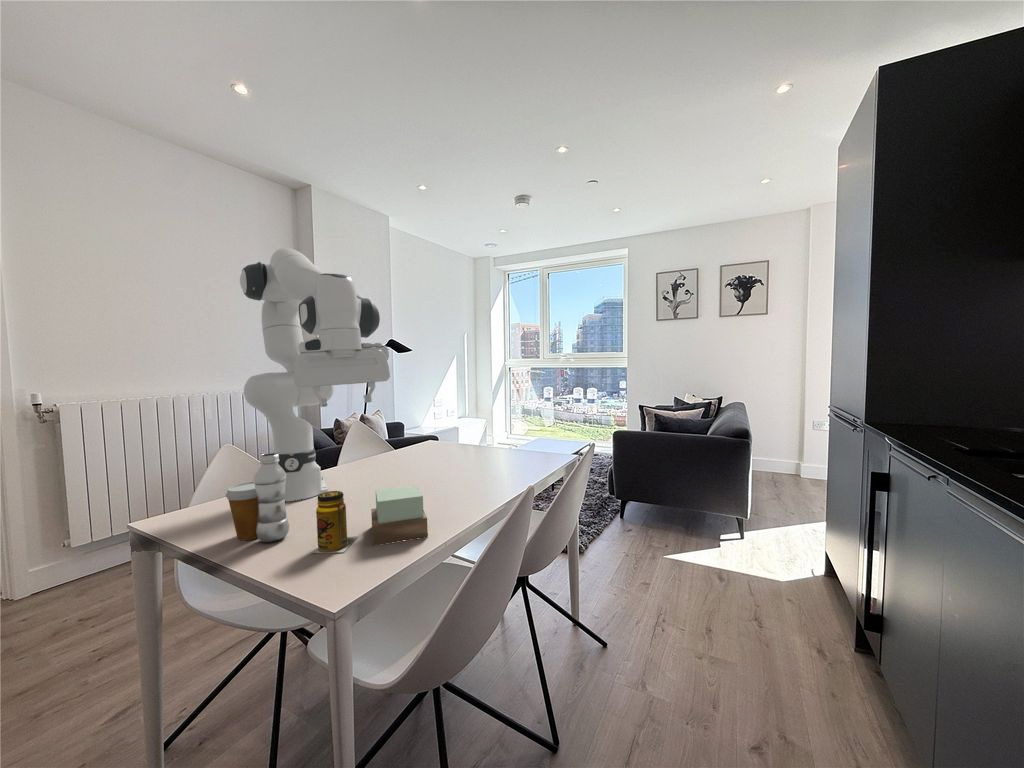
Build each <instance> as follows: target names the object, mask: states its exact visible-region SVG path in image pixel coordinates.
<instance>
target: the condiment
mask: <svg viewBox="0 0 1024 768" xmlns="http://www.w3.org/2000/svg"><path fill="white" fill-rule="evenodd" d="M315 514H316V532H317V535H316V537H317V546H316V547H315V548H314V549H313V550H312V551H311V552H310V554H334V553H335V554H336V553H344V552H345V551H347V550H348V548H349V547H350V546H351V545H352V544H353V542H355V541H356V539H357V538H358V537H359V535H354V536H348V527H347V526H348V525H347V504H346V503H345V498H344V492H343V491H341V490H331V491H330V490H329V491H328V492H324V493H321V494H318V495H317V507H316V513H315Z"/></svg>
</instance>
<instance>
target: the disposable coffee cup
mask: <svg viewBox="0 0 1024 768" xmlns="http://www.w3.org/2000/svg"><path fill="white" fill-rule="evenodd" d="M225 497H226V499H227V500H228V503H229V508H230V513H231V515H232V516H231V517H232V520H233V524H234V526H233V527H234V530H235V534H236V538H237V540H239V541H250V540H254V539H255V540H256V539H258V538H257V534H256V527H257V522H258V501H257V494H256V489H255V484H254V480H253V481H248V482H243V483H238V484H235V485H233V486H229V487H228V488H227V491H226V494H225Z"/></svg>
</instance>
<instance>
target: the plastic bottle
mask: <svg viewBox="0 0 1024 768" xmlns="http://www.w3.org/2000/svg"><path fill="white" fill-rule="evenodd" d="M278 462H279V453H274V452H271V453H269V452H268V453H264V454H260V461H259V465H260V464H261V466H260V467H259V468H258V470H257V471H256V473H255V474H254V477H253V481H254V484H255V489H256V494H257V501H258V522H257V527H256V534H257V538H256V539H258V540H259V541H260V542H263V543H270V542H271V543H272V542H276V541H279V540H281V539H284V538H286V536H287V535H288V533H289V531H290V523H289V519H288V517H287V509H286V502H285V499H284V498H285V485H286V473H285V471H284V470H283V468H282V467H281V466H280V465H279V464H278Z"/></svg>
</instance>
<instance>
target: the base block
mask: <svg viewBox="0 0 1024 768" xmlns="http://www.w3.org/2000/svg"><path fill="white" fill-rule="evenodd" d="M370 511H371V532H372V546H373V547H376V546H375V545H377V546H381V545H380V544H384V545H387V544H386V543H390V544H393V543H392V542H396V543H398V542H397V541H402V542H404V541H403V540H409V541H411V540H410V539H415V540H418V539H417V538H421V539H425V538H424V537H428V538H429V535H428V517H427V514H426V512H425V510H424V509H423V515H424V517H422V518H415V519H408V520H401V521H394V522H388V523H381V524H378V518H377V511H376V507H375V508H371V509H370Z"/></svg>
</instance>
